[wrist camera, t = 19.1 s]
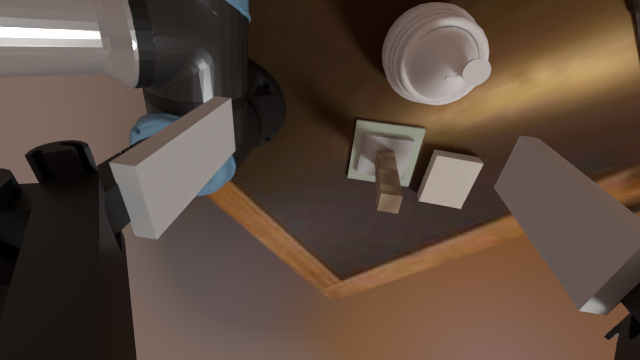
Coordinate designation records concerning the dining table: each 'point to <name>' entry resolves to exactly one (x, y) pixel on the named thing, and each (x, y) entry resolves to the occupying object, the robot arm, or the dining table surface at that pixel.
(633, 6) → the cleaver
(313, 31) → the dining table surface
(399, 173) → the wooden handled stamp
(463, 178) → the tile
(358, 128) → the mat
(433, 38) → the honey pot
